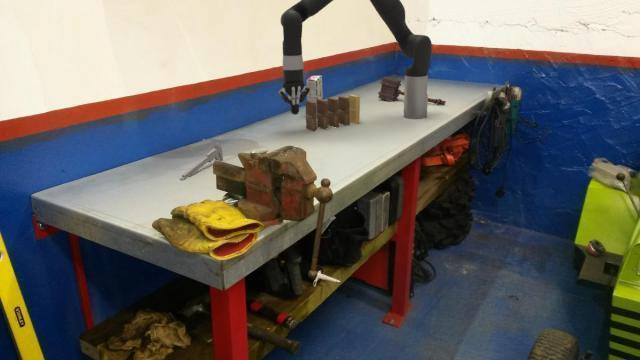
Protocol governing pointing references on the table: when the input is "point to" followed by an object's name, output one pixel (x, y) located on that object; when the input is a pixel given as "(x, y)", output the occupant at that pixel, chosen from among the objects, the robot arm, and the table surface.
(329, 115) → the domino
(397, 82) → the hammer
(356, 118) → the domino
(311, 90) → the candy bar box
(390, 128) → the table surface
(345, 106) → the domino
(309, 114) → the domino
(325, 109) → the domino
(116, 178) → the table surface
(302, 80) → the robot arm
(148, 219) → the table surface
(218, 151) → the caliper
